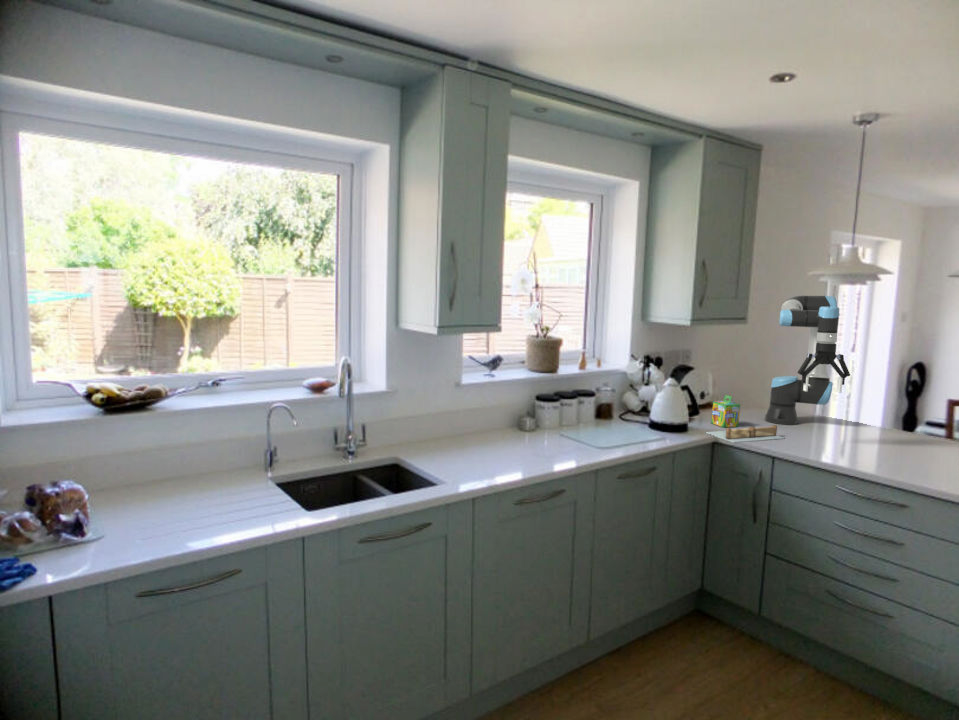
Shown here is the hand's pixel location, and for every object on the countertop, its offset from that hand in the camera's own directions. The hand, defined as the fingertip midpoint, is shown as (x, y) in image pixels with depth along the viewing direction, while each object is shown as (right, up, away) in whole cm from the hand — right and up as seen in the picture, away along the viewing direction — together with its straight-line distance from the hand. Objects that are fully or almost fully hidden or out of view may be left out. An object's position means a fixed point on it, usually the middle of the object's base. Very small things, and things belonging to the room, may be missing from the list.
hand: (822, 391), depth 253 cm
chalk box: (-27, -19, +36) cm, 48 cm away
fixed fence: (-20, -21, +13) cm, 31 cm away
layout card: (-27, -21, +15) cm, 37 cm away
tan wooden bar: (-33, -21, +9) cm, 40 cm away
